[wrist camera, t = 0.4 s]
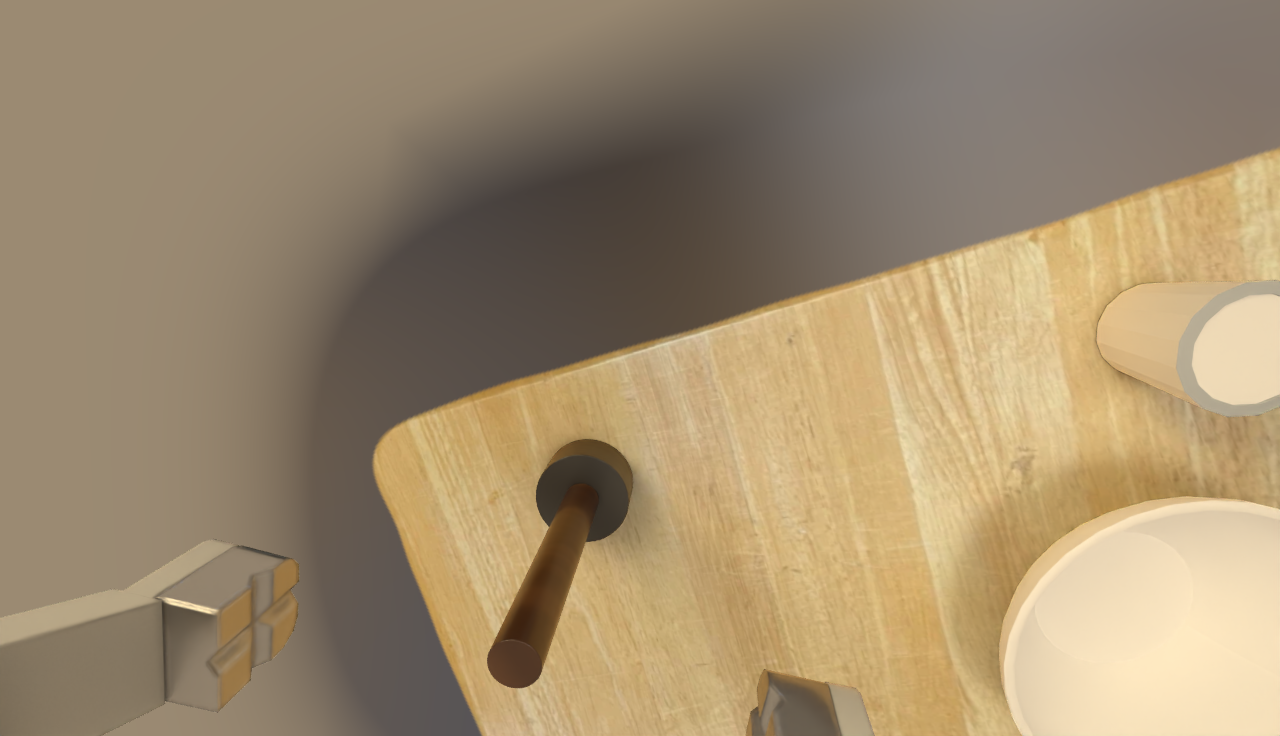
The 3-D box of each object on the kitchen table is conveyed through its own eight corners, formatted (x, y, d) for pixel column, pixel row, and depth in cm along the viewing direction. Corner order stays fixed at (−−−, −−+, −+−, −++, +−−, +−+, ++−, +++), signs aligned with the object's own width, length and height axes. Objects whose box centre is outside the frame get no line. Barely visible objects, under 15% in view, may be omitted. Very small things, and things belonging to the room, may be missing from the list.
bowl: (1033, 412, 37) (1109, 450, 30) (1330, 513, 37) (1470, 573, 30) (905, 662, 42) (946, 744, 35) (1168, 753, 41) (1261, 852, 35)
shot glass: (1154, 404, 36) (1262, 442, 30) (1060, 349, 36) (1147, 375, 29) (1234, 308, 35) (1366, 325, 28) (1136, 250, 35) (1246, 253, 28)
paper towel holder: (589, 421, 40) (510, 566, 22) (651, 483, 40) (622, 671, 23) (529, 478, 41) (409, 657, 23) (589, 537, 42) (517, 755, 24)
